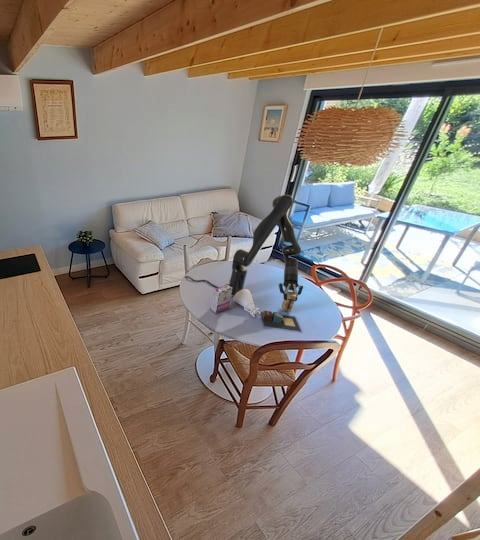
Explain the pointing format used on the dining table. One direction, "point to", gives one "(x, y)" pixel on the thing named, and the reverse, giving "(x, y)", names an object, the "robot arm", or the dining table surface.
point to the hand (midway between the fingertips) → (290, 300)
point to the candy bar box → (221, 298)
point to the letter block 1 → (267, 316)
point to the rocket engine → (246, 301)
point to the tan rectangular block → (289, 301)
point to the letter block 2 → (277, 317)
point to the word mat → (284, 323)
